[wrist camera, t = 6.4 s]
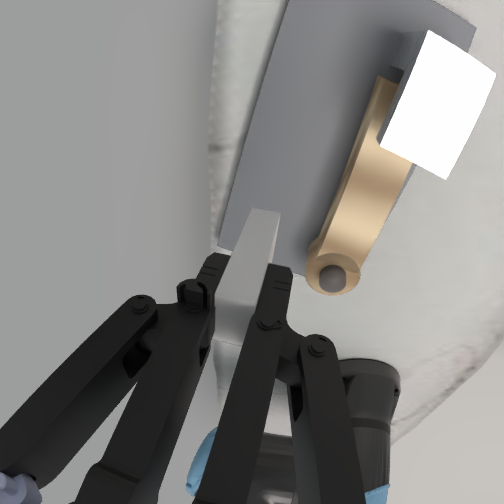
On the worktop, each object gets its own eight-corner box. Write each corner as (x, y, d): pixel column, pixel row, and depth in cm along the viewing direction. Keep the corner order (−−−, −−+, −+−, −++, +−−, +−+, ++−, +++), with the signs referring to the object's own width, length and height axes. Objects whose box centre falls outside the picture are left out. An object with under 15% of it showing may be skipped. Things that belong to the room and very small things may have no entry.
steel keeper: (416, 141, 23) (445, 179, 17) (364, 116, 23) (379, 145, 17) (451, 62, 18) (496, 74, 12) (398, 32, 18) (428, 30, 12)
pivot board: (342, 282, 34) (342, 289, 33) (220, 239, 34) (216, 245, 33) (470, 27, 15) (476, 27, 14) (307, -46, 15) (306, -50, 14)
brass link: (346, 279, 32) (347, 308, 29) (301, 266, 32) (296, 294, 29) (429, 97, 19) (447, 108, 16) (371, 72, 19) (380, 78, 16)
